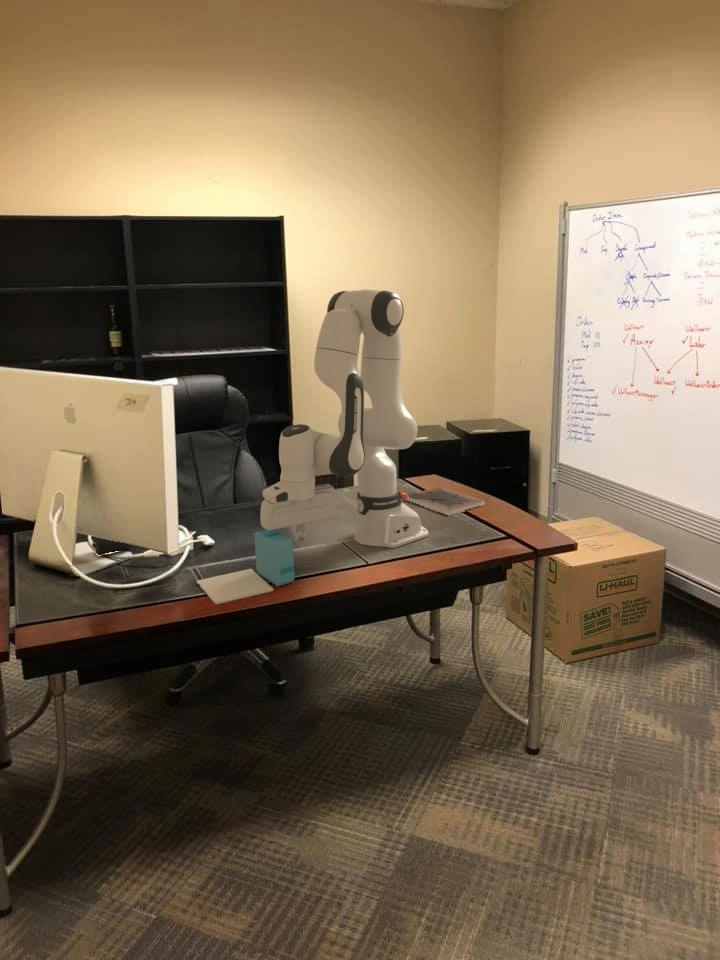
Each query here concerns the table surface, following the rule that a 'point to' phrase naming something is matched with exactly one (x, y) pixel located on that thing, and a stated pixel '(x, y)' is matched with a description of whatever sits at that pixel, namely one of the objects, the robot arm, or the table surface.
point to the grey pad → (234, 586)
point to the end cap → (108, 546)
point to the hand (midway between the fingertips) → (299, 539)
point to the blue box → (274, 557)
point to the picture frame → (444, 500)
